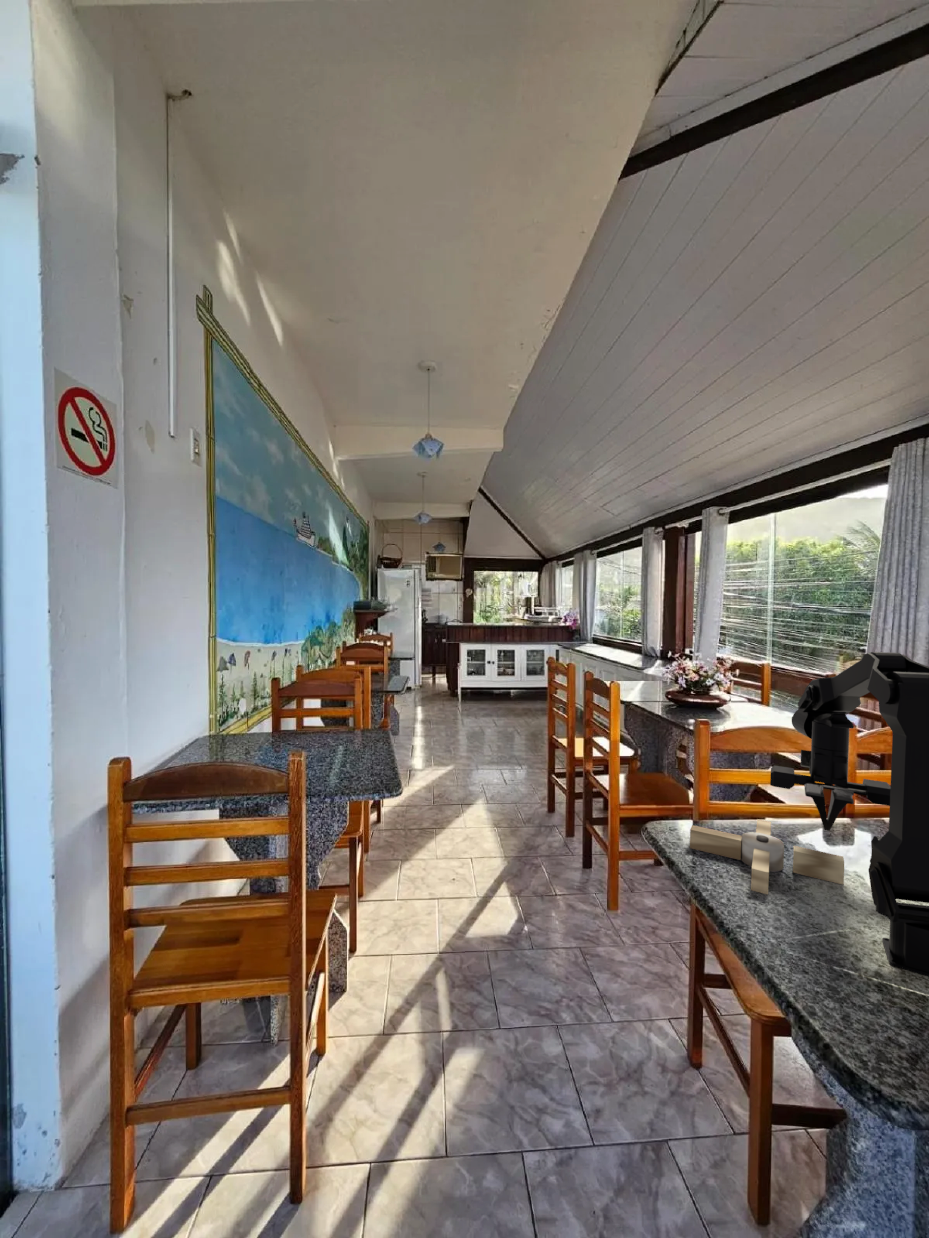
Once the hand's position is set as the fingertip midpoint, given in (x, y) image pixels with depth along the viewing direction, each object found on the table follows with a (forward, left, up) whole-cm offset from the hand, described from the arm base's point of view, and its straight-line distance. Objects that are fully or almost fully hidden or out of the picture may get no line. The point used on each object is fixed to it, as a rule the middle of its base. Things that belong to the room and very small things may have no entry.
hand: (826, 829), depth 97 cm
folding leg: (-5, +2, -7) cm, 9 cm away
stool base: (-5, +15, -7) cm, 17 cm away
